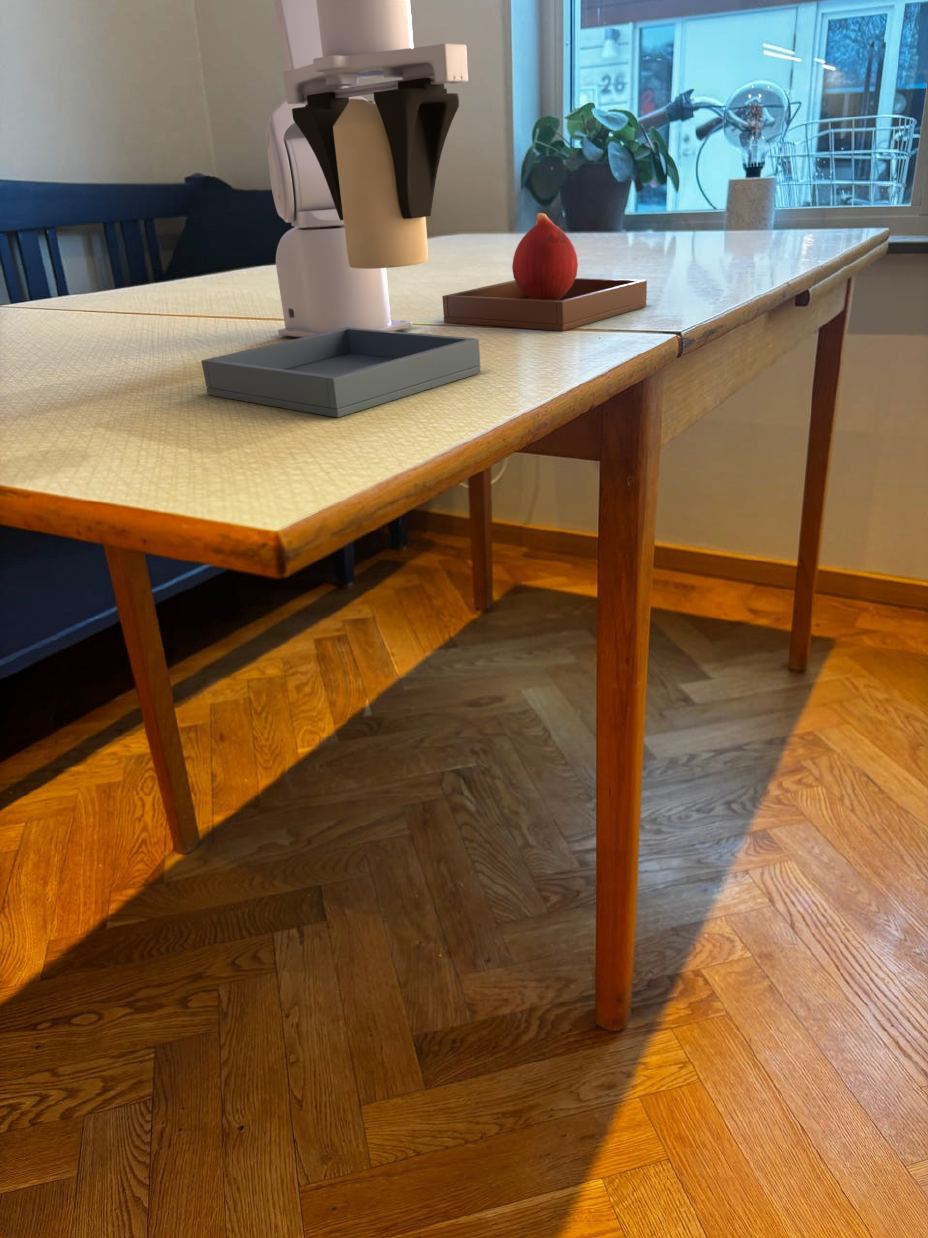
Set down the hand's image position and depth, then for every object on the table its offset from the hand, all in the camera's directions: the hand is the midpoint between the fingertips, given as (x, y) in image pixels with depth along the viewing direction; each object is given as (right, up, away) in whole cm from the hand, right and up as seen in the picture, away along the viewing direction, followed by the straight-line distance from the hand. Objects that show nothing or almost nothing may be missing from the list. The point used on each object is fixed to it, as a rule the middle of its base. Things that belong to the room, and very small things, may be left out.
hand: (383, 218), depth 61 cm
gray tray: (-3, -11, +1) cm, 11 cm away
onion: (+13, +1, +22) cm, 25 cm away
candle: (0, -3, +1) cm, 3 cm away
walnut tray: (+13, +1, +22) cm, 25 cm away
